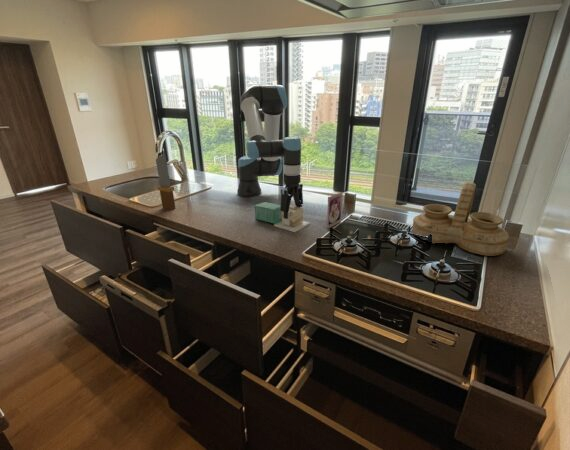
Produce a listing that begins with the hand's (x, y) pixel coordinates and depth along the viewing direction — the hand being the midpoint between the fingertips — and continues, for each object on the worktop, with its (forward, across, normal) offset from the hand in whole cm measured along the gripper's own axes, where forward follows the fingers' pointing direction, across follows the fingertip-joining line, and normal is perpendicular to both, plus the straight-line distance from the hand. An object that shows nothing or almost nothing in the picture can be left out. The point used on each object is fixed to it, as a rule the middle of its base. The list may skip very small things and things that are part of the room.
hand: (292, 222), depth 139 cm
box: (+1, +2, -12) cm, 12 cm away
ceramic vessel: (+2, -25, +64) cm, 69 cm away
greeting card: (+2, -12, +13) cm, 18 cm away
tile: (+2, 0, 0) cm, 2 cm away
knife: (+2, +21, -69) cm, 72 cm away
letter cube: (0, 0, 0) cm, 0 cm away
